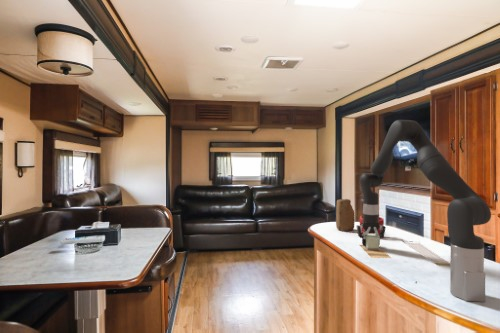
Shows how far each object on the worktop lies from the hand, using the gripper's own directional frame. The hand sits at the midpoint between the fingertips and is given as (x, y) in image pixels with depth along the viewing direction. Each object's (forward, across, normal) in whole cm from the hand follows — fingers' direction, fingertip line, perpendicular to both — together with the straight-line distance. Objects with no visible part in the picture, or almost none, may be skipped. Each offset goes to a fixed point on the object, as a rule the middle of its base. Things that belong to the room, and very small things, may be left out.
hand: (370, 245), depth 152 cm
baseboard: (+3, +23, -4) cm, 24 cm away
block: (+3, -3, +43) cm, 43 cm away
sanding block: (+1, 0, 0) cm, 1 cm away
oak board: (+2, 0, -5) cm, 5 cm away
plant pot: (+3, +8, +25) cm, 26 cm away
